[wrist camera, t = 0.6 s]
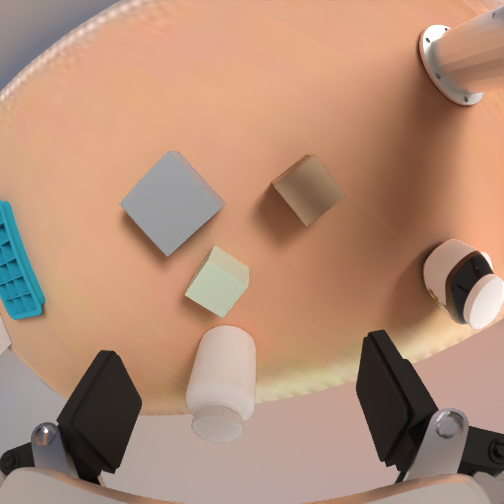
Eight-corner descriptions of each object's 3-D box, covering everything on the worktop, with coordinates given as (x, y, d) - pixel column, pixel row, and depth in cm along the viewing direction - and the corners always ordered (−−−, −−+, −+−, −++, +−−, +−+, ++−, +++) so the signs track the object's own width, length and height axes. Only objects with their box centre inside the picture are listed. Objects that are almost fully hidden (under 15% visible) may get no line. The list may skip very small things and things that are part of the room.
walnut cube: (305, 155, 29) (315, 154, 25) (332, 189, 31) (345, 196, 26) (271, 182, 30) (274, 186, 26) (298, 216, 32) (306, 226, 27)
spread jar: (411, 255, 33) (461, 294, 22) (465, 212, 31) (520, 236, 20) (432, 313, 36) (470, 357, 25) (479, 273, 34) (523, 306, 23)
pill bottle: (242, 315, 36) (236, 403, 22) (264, 357, 38) (267, 443, 24) (189, 332, 37) (163, 415, 23) (215, 371, 40) (202, 452, 25)
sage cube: (214, 244, 33) (207, 259, 28) (249, 267, 34) (248, 285, 29) (193, 276, 34) (184, 294, 30) (226, 297, 35) (222, 318, 30)
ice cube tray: (11, 192, 30) (-1, 195, 28) (53, 305, 37) (43, 314, 34) (-18, 215, 31) (-28, 219, 29) (20, 312, 38) (11, 320, 35)
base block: (179, 151, 29) (168, 150, 26) (225, 202, 31) (221, 208, 28) (133, 198, 31) (119, 204, 27) (176, 245, 33) (167, 257, 29)
